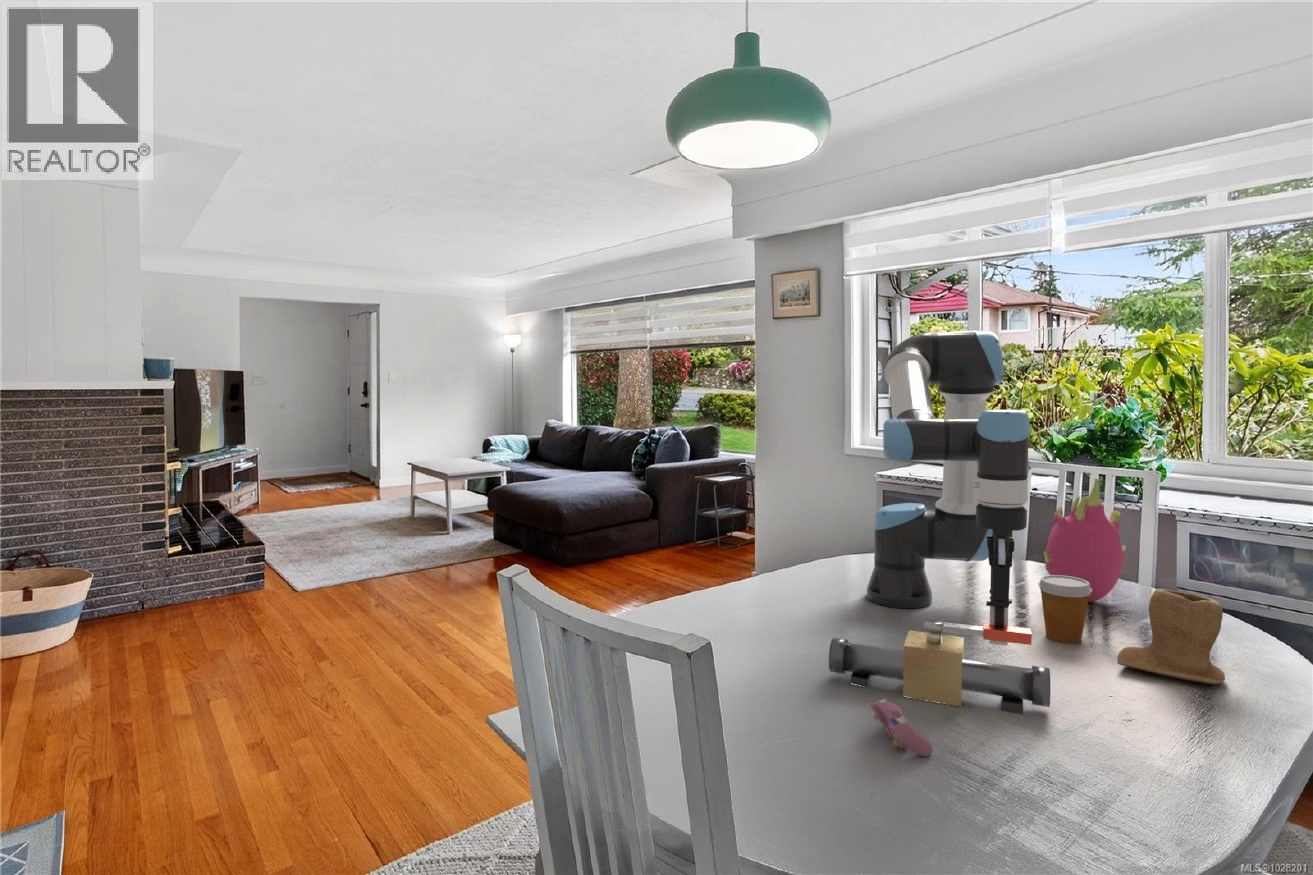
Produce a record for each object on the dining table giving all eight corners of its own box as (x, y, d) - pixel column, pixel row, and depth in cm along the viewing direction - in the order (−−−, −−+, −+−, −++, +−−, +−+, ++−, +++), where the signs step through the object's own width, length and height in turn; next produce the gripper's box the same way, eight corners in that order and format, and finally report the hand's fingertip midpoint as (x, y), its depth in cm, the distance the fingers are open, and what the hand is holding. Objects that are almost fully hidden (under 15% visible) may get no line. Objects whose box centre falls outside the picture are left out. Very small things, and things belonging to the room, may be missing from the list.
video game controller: (880, 736, 109) (860, 698, 108) (905, 721, 109) (886, 683, 108) (909, 771, 99) (888, 729, 98) (937, 754, 99) (916, 713, 98)
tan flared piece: (1226, 672, 126) (1229, 591, 125) (1223, 695, 117) (1226, 607, 116) (1126, 652, 136) (1128, 577, 135) (1115, 672, 127) (1118, 591, 126)
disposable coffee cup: (1098, 647, 139) (1100, 588, 138) (1046, 645, 140) (1047, 586, 140) (1079, 631, 148) (1081, 575, 147) (1030, 628, 150) (1032, 573, 149)
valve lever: (923, 633, 118) (924, 622, 118) (924, 627, 121) (924, 616, 121) (1031, 645, 112) (1031, 634, 112) (1029, 638, 115) (1030, 628, 115)
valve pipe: (836, 668, 131) (837, 611, 130) (1046, 701, 116) (1048, 637, 115) (827, 684, 124) (827, 625, 123) (1050, 722, 109) (1051, 654, 108)
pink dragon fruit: (1109, 594, 173) (1113, 473, 170) (1137, 612, 159) (1141, 481, 157) (1032, 591, 176) (1034, 473, 174) (1052, 608, 162) (1056, 480, 160)
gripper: (975, 496, 123) (973, 627, 124) (976, 508, 111) (973, 653, 113) (1024, 498, 120) (1020, 633, 121) (1030, 511, 108) (1026, 660, 110)
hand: (998, 642), depth 117 cm, fingers closed
